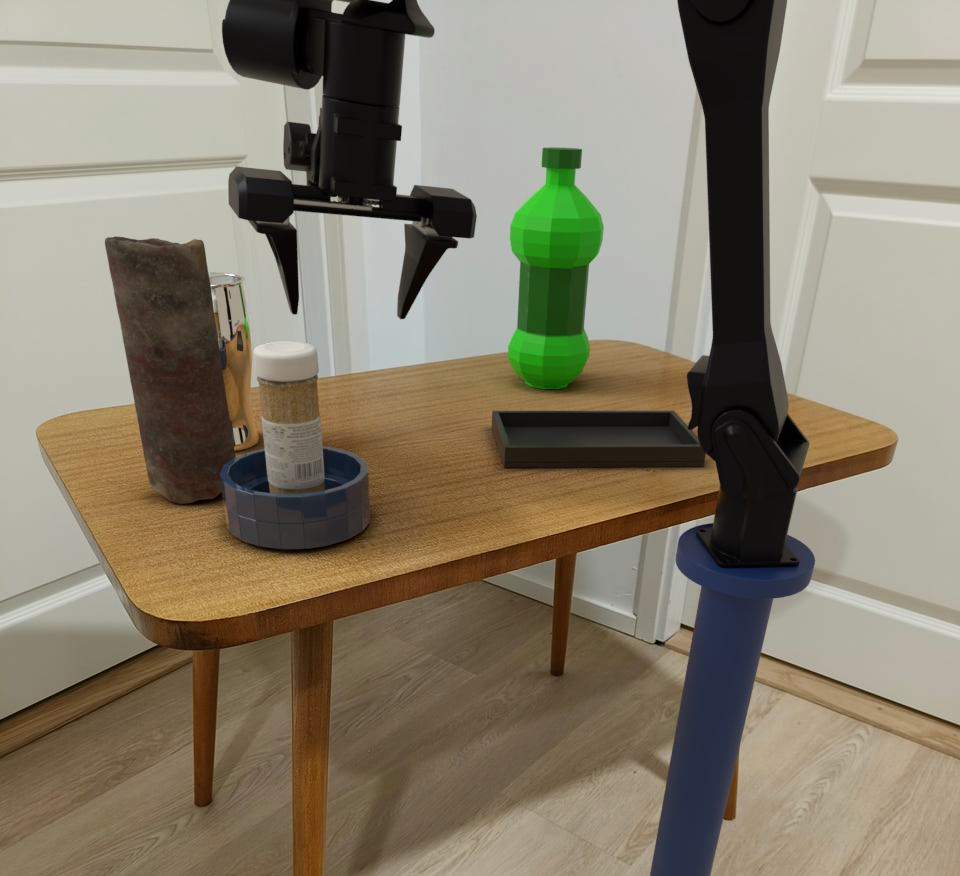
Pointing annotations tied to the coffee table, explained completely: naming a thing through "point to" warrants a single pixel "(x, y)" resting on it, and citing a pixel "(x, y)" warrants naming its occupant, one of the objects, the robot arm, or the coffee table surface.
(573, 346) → the plastic bottle
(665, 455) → the tray
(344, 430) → the coffee table surface
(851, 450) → the coffee table surface
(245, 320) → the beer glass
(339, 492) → the bowl
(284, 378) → the sprinkles bottle
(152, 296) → the brown stone pillar
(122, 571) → the coffee table surface
